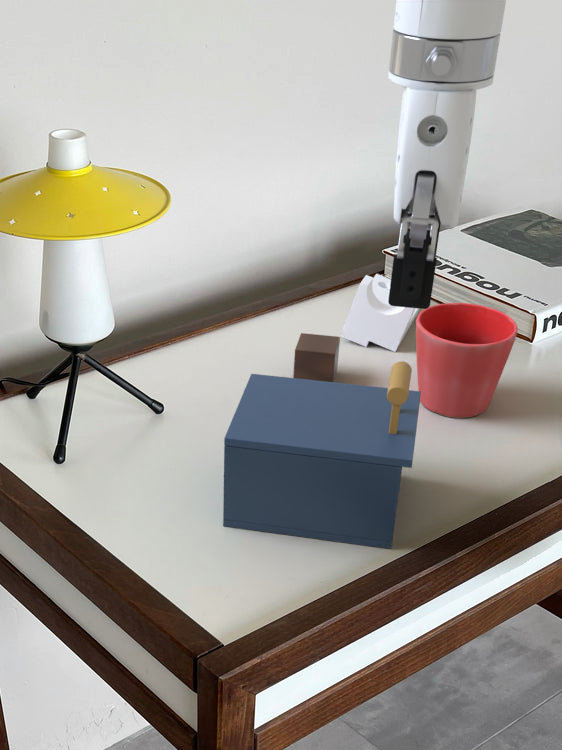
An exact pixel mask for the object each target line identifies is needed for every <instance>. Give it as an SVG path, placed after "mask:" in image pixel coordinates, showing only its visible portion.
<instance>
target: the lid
mask: <svg viewBox="0 0 562 750" xmlns="http://www.w3.org/2000/svg"><path fill="white" fill-rule="evenodd" d="M412 371H413V370H412V366H411V365H410V364H409V363H408V362H406V361H397V362H395V363H394V364H393V365H392V366H391V369H390V374H389V375H390V376H389V381H388V386H387V387H382V386H371V385H363V384H354V383H346V382H345V383H344V382H336V381H334V382H326V381H316V380H307V379H297V378H293V377H287V376H277V375H270V374H269V375H268V374H259V373H251V374H250V376H249V378H248V381H247V383H246V385H245V388H244V390H243V392H242V395H241V398H240V399H239V402H238V405H237V407H236V410H235V411H234V414H233V417H232V419H231V421H230V424H229V425H228V428H227V430H226V433H225V436H224V438H223V442H224V443H223V444H224V445H223V446H233V447H242V448H250V449H258V450H267V451H275V452H283V453H291V454H300V455H308V456H316V457H325V458H333V459H341V460H349V461H358V462H366V463H374V464H383V465H391V466H399V467H402V468H408V469H410V468H411V469H412V468H413V460H414V453H415V445H416V437H417V428H418V419H419V413H420V405H421V402H420V396H421V391H418V390H412V389H411V390H410V386H411V379H412Z"/></svg>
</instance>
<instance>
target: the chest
mask: <svg viewBox="0 0 562 750" xmlns="http://www.w3.org/2000/svg"><path fill="white" fill-rule="evenodd" d="M402 473H403V467H399V466H391V465H383V464H374V463H366V462H358V461H349V460H341V459H333V458H325V457H316V456H308V455H300V454H291V453H283V452H275V451H267V450H258V449H250V448H242V447H233V446H225V445H223V501H222V502H223V508H222V510H223V511H222V512H223V513H222V516H223V517H222V526H223V527H228V528H233V529H242V530H248V531H257V532H265V533H270V534H271V533H272V534H278V535H285V536H293V537H301V538H307V539H316V540H323V541H328V542H329V541H330V542H336V543H337V542H338V543H345V544H351V545H359V546H367V547H374V548H381V549H388V550H389V549H390V550H391V549H392V544H393V538H394V532H395V531H394V530H395V523H396V515H397V509H398V502H399V501H398V500H399V494H400V486H401V479H402Z"/></svg>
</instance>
